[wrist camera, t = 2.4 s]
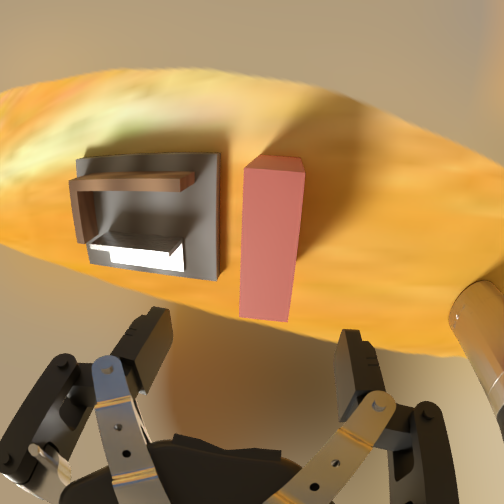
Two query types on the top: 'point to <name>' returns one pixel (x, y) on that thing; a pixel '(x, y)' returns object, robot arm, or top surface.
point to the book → (270, 235)
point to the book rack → (151, 205)
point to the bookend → (143, 249)
